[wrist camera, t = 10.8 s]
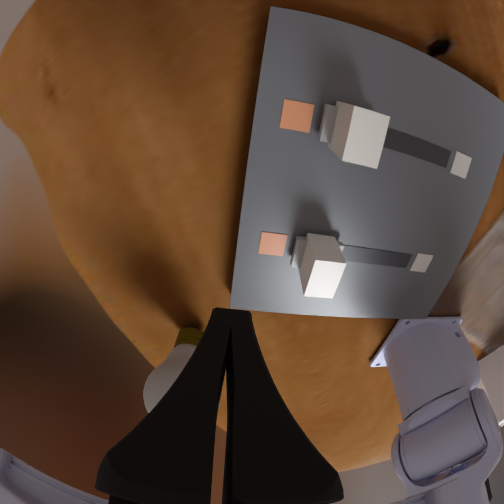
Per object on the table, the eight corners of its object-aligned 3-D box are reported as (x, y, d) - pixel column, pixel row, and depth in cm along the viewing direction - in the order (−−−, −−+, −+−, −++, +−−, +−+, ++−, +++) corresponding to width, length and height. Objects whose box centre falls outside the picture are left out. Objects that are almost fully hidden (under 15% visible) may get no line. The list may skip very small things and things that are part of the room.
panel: (500, 105, 12) (513, 110, 11) (419, 307, 23) (425, 319, 22) (269, 12, 11) (270, 6, 10) (230, 294, 22) (229, 308, 21)
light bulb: (172, 298, 23) (142, 406, 14) (236, 322, 24) (230, 430, 16) (156, 335, 26) (131, 428, 17) (212, 355, 27) (201, 447, 19)
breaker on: (343, 237, 17) (356, 264, 15) (332, 270, 19) (341, 299, 16) (297, 231, 17) (304, 258, 15) (289, 266, 18) (293, 295, 16)
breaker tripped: (377, 112, 13) (401, 120, 10) (367, 155, 14) (387, 171, 12) (325, 98, 13) (341, 102, 10) (316, 144, 14) (329, 158, 12)
